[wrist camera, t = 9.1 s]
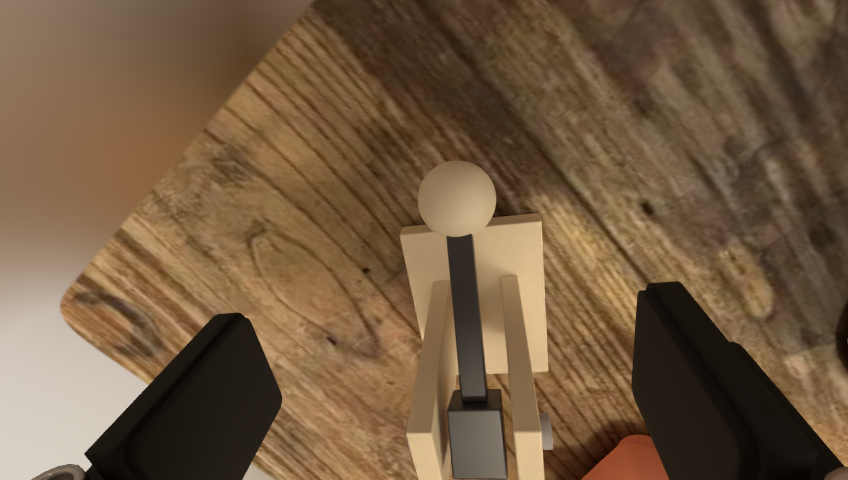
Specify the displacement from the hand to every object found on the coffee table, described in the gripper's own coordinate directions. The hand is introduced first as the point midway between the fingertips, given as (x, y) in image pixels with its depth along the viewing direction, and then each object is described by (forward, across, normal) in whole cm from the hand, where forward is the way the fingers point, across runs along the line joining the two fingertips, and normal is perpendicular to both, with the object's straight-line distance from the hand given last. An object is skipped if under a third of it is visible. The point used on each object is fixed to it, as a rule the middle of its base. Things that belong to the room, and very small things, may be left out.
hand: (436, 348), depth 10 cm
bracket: (+14, 0, +8) cm, 17 cm away
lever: (+8, 0, +5) cm, 10 cm away
